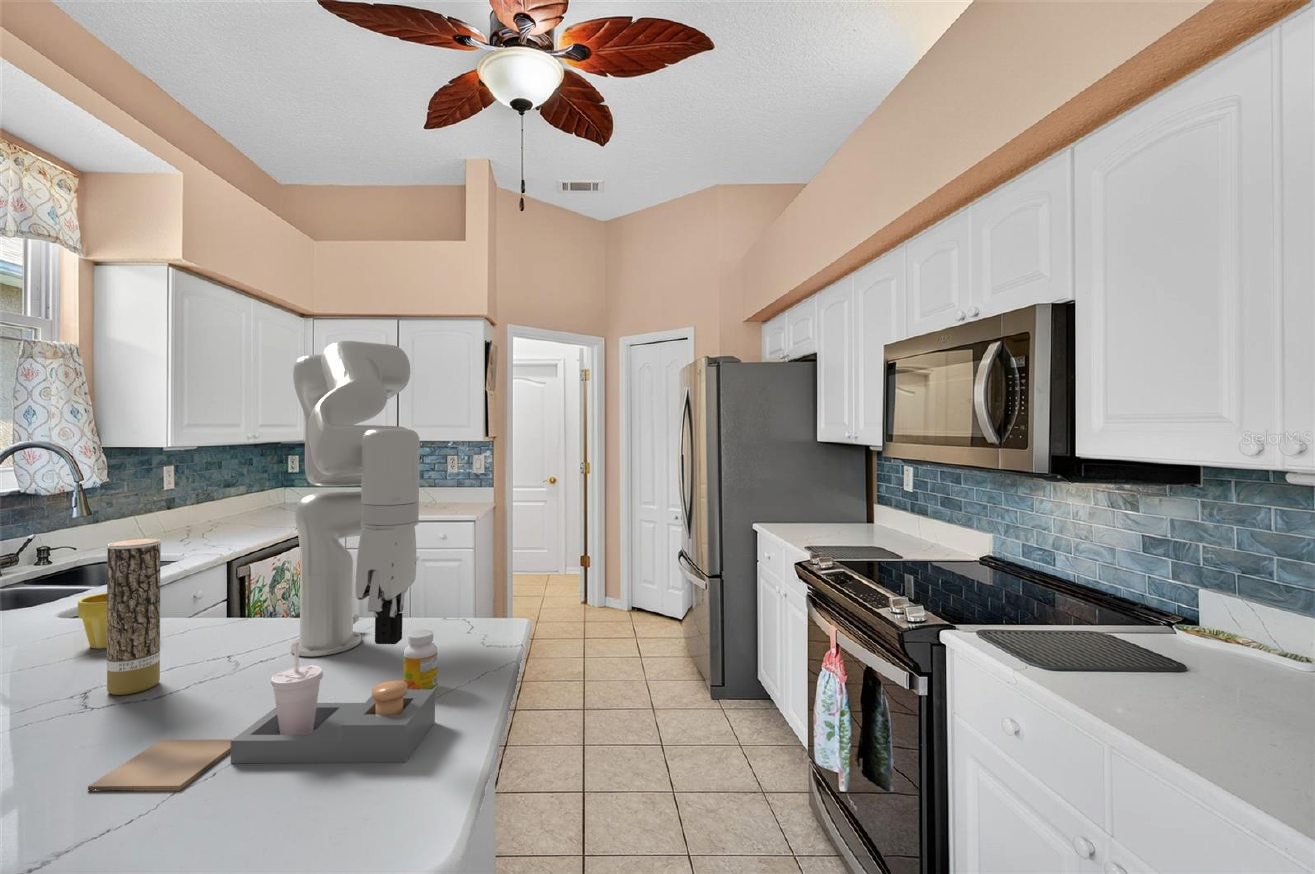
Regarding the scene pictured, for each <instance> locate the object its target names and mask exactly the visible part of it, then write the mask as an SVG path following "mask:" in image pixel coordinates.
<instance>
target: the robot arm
mask: <svg viewBox="0 0 1315 874" xmlns="http://www.w3.org/2000/svg"><path fill="white" fill-rule="evenodd" d="M292 372H293V373H292V378H293V379H292V380H293V385H294V389H295V393H296V397H297V398H298V400H299V403H300V406H301V408H302V411H303V415H304V422H305V427H304V428H305V429H304V430H305V431H304V433H305V434H304V471H305V477H306V480H307V481H308V482H309V483H310V484H311V485H314V486H319V487H347V486H348V487H349V486H360V487H361V488H360V490H354V491H345V490H344V491H327V492H326V491H325V492H317V493H311V494H309V495H305V496H303V498H301V499H300V500H299V501H298V503H296V507H295V511H294V512H295V513H294V515H295V517H294V519H295V524H296V530H297V536H298V543H299V545H298V546H299V559H300V560H299V566H300V567H299V578H300V580H299V582H300V583H299V584H300V585H299V587H300V588H299V589H300V590H299V597H300V598H299V639H296V640H295V641H293V642H292V643H291V645H290V652H291V653H292V654H293V655H294V642H299V657H323V656H330V655H335V654H339V653H342V652H345V651H346V652H347V651H349V650H351V649H353V648H355V647H357V646H358V645H360V643H361V641H362V634H360V633H359V632H356V631H354V625H355V624H356V623H358V622H359V620H360V616H359V614H357V613H354V596H355V598H356V599H357V600H359V601H362V600H363V601H364V599H366V598H367V597H368V601H367V612H373V617H374V620H375V621H374V642H375V644H377V645H396V644H398V643H400V641H402V639H403V611H404V606H405V594H406V593H407V591H408V589H409V588H410V587H411V586H412V585H413V584H414V582H415V581H416V576H417V539H416V538H417V537H416V526H418V525H419V523H420V522H419V520H420V519H419V516H420V515H419V514H420V513H419V512H420V507H419V506H420V505H419V504H420V501H419V500H420V460H421V459H420V457H421V456H420V455H421V451H420V449H421V444H420V443H421V442H420V436H419V434H418V433H417V431H415V430H413V429H409V428H406V427H404V426H397V425H367V424H366V425H364V424H363V425H362V424H359V423H364V422H366V421H368V420H370V419H373V418H375V417H376V416H377V415H379V414H380V413H382V411H383V410H384V408H386V405H387V402H388V400H389V399H391V398H393V397H394V396H396V395H397V394H399V393H401V392H402V391H403V390H405V388H406V387H407V385H408V384H409V381H410V377H411V364H410V360H409V358H408V355H407V354H406V352H405V351H404V350H403V349H402V348H400V347H399V346H397V345H393V344H388V343H387V344H386V343H375V342H367V341H358V340H356V341H355V340H354V341H353V340H341V341H336V342H333V343H331V344H329V345H328V346H326V347H325V349H324V351H323V352H322V354H309V355H304V356H303V355H302V356H301V357H299V358H297V360H295V363H294V365H293V369H292ZM352 537H359V542H358V547H357V548H358V549H357V555H356V568H355V583H354V560H353V556H352V553H351V552H350V551H349V549H347V548H346V547H345V546H344V545H343V544H341V542H340V540H341V539H345V538H352ZM354 584H355V586H354Z"/></svg>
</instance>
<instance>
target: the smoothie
mask: <svg viewBox="0 0 1315 874" xmlns="http://www.w3.org/2000/svg"><path fill="white" fill-rule="evenodd" d="M293 642H294V654H293V655H294V656H293V667H289V668H286V669H283V670H280V671H279V672H277V673H275V674H274V675H272V676H271V679H270V687H271V688H272V689H273V695H274V701H275V708H276V709H277V716H278V723H279V730H280V733H279V735H310V734H311V733H312V732H313V731H314V729H315V728H314V721H315V714H316V707H317V703H318V699H319V691H320V685H321V684H320V683H321V680H322V679H323V677H324V672H323V671H324V669H323V668H322V667H321V666H318V665H312V664H311V665H309V664H308V665H300V666H299V664H300V663H299V660H300V656H299V642H295V641H293Z"/></svg>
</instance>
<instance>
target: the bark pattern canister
mask: <svg viewBox="0 0 1315 874" xmlns="http://www.w3.org/2000/svg"><path fill="white" fill-rule="evenodd" d="M161 546H162V545H161V539H160V538H159V539H158V538H138V539H137V538H136V539H127V540H120V541H119V540H118V541H115V542H109V543H108V544H107V549H106V550H107V551H106V553H107V555H106V556H107V560H106V561H107V564H106V565H107V567H106V570H107V574H106V576H107V578H106V579H107V580H106V582H107V583H106V584H107V585H106V586H107V587H106V590H107V591H106V593H107V648H106V689H107V690H106V691H107V692H108V694H110V695H113V696H126V695H131V694H138V693H140V692H143V691H144V692H145V691H146V690H149V689H151V688H154V687H155V686H156V685H158V683H159V682H160V680H161V679H160V677H161V676H160V675H161V674H160V673H161V671H160V670H161Z"/></svg>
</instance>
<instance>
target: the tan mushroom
mask: <svg viewBox="0 0 1315 874" xmlns="http://www.w3.org/2000/svg"><path fill="white" fill-rule="evenodd" d="M406 694H407V683H406V682H404V681H403V680H388V681H384V682H383V681H382V682H380V683H377V684H376V685H375V686H373V687H372V688H371V696H372V699H373V700H375V701H376V714H401V713H402V711H403V696H405V695H406Z"/></svg>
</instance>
